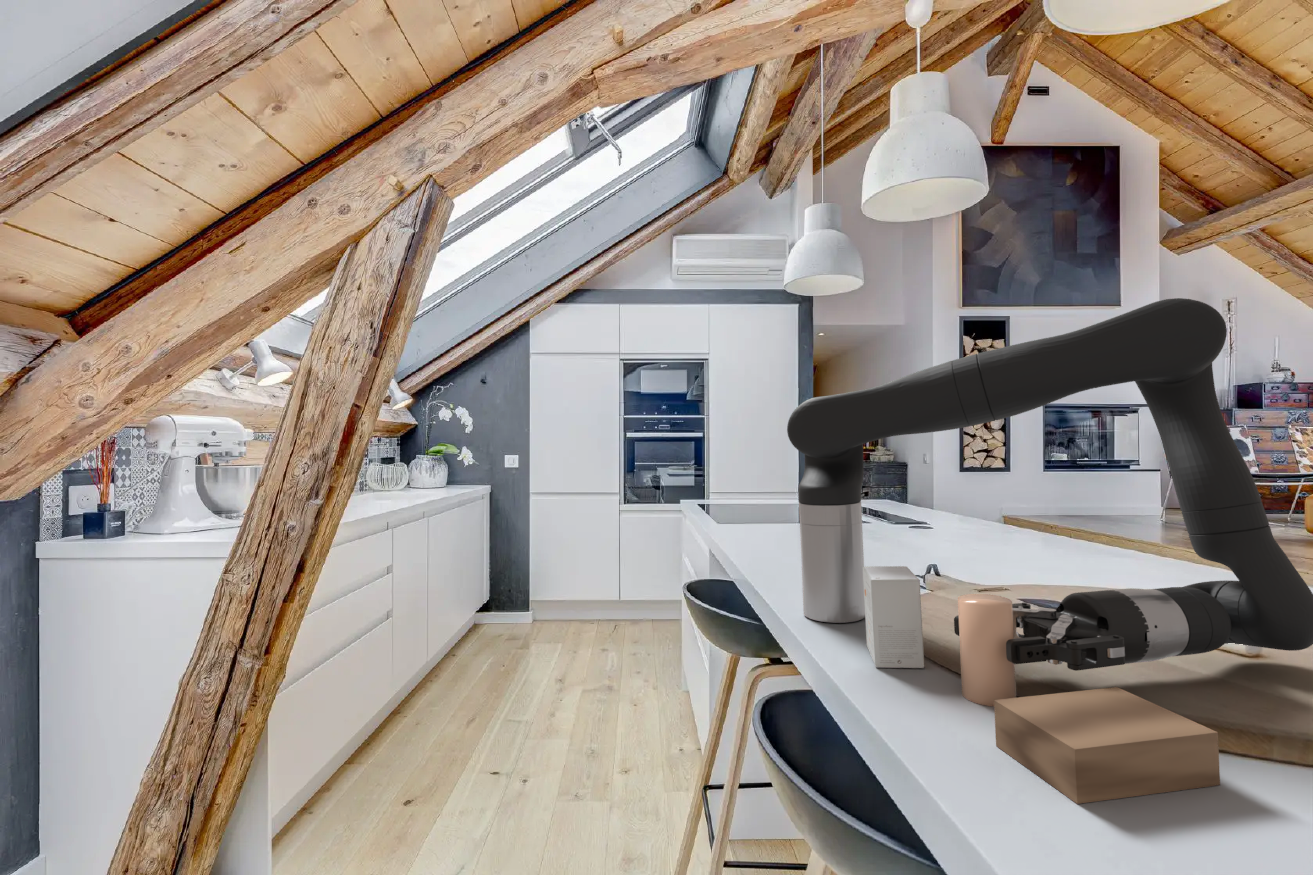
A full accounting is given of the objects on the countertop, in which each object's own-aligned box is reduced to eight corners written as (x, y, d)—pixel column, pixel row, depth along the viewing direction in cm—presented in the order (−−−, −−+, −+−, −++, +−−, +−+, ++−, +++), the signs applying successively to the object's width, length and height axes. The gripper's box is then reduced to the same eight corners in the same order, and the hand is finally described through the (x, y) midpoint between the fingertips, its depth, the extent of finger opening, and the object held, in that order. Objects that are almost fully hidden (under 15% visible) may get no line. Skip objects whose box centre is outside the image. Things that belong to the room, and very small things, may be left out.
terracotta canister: (951, 689, 68) (947, 595, 68) (995, 684, 69) (990, 592, 69) (981, 708, 63) (977, 607, 63) (1028, 703, 64) (1023, 603, 64)
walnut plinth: (996, 745, 56) (993, 699, 56) (1118, 731, 57) (1116, 686, 57) (1077, 803, 47) (1074, 749, 47) (1220, 784, 48) (1217, 732, 48)
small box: (925, 670, 74) (920, 579, 74) (874, 668, 75) (870, 579, 75) (911, 647, 82) (908, 565, 82) (866, 646, 83) (862, 565, 83)
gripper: (1067, 576, 75) (939, 586, 73) (1182, 607, 61) (1028, 621, 59) (1070, 640, 75) (942, 652, 73) (1186, 686, 61) (1031, 702, 59)
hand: (980, 638), depth 66 cm, fingers open, 8 cm apart
